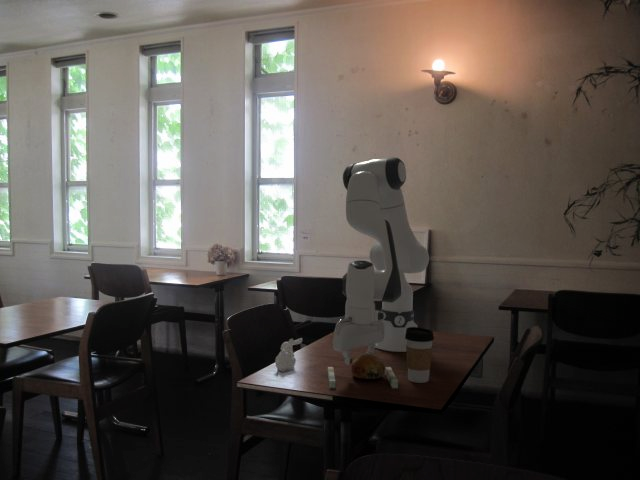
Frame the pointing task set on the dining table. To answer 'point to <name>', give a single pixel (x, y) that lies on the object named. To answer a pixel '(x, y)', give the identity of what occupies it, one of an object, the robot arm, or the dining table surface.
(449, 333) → the dining table surface
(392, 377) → the channel
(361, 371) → the bread roll
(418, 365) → the coffee cup
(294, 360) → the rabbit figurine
